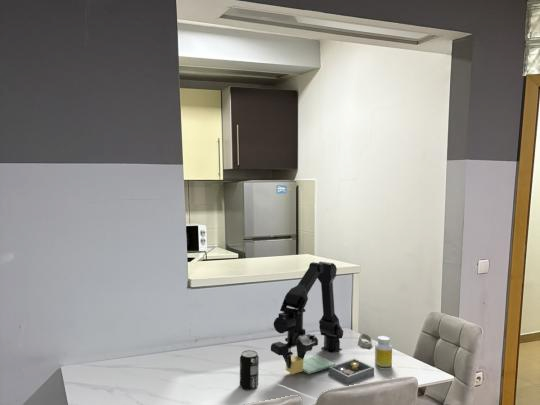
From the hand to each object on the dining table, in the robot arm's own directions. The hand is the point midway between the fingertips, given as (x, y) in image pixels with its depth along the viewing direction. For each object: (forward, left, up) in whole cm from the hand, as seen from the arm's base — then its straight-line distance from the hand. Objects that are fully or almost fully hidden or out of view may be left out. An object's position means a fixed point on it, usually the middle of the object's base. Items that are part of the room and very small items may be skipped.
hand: (294, 366), depth 156 cm
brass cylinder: (+10, +22, -3) cm, 24 cm away
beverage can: (-2, -19, -4) cm, 19 cm away
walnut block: (+14, +14, -3) cm, 20 cm away
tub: (+12, +18, -3) cm, 22 cm away
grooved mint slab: (0, +7, -2) cm, 7 cm away
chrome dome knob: (+10, +15, -3) cm, 18 cm away
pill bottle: (+14, +34, -4) cm, 37 cm away
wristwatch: (-6, +46, -4) cm, 46 cm away
